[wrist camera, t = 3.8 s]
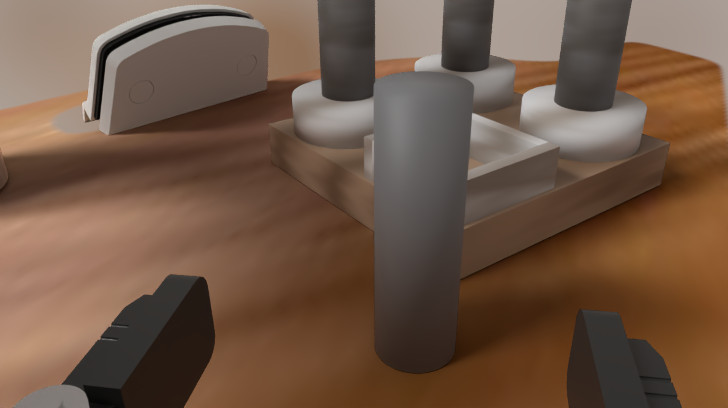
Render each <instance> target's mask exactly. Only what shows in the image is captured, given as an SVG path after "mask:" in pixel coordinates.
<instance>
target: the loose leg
mask: <svg viewBox="0 0 728 408" xmlns="http://www.w3.org/2000/svg"><path fill="white" fill-rule="evenodd" d="M473 97H474V85H473V83H472V82H470V81H469V80H467V79H465V78H463V77H460V76H457V75H453V74H448V73H441V72H429V71H414V72H402V73H396V74H391V75H388V76H385V77H382V78H380V79H378V80H377V81H376V82H375V83H374V314H375V350H376V353H377V355H378V356H379V358H380V359H381V360H382V361H383V362H384V363H385V364H387V365H388V366H390V367H392V368H394V369H396V370H399V371H403V372H408V373H426V372H431V371H435V370H437V369H440V368H442V367H443V366H445V365H446V364H447V363H448V362H449V361H450V360H451V359H452V357H453V355H454V353H455V344H456V330H457V317H458V303H459V289H460V275H461V262H462V248H463V234H464V220H465V207H466V193H467V179H468V165H469V152H470V138H471V124H472V111H473Z"/></svg>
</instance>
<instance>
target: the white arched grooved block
mask: <svg viewBox="0 0 728 408" xmlns="http://www.w3.org/2000/svg"><path fill="white" fill-rule="evenodd" d="M268 45H269V34H268V32H267V30H266V29H265V27H264V26H263V25H262V23H260V22H259V21H257V20H254V18H253V17H252V15H250V14H248V13H246V12H244V11H242V10H239V9H235V8H231V7H225V6H218V5H189V6H180V7H175V8H169V9H165V10H160V11H156V12H153V13H150V14H147V15H144V16H141V17H138V18H135V19H133V20H131V21H128V22H126V23H124V24H122V25H119V26H117V27H115V28H113V29H111V30H109V31H108V32H106V33H104V34H102V35H100V36H99V37H97V38H96V40H95V41H94V43H93V45H92V56H91V67H90V79H89V89H88V99H87V101H84V102H83V104H82V108H83V120H84V122H85V123H87V122H91V121H95V120H99V119H100V125H99V130H100V131H101V132H103V133H104V134H106V135H112V134H115V133H119V132H122V131H125V130H129V129H132V128H136V127H139V126H143V125H146V124H150V123H153V122H156V121H160V120H163V119H167V118H170V117H174V116H177V115H181V114H184V113H187V112H191V111H194V110H198V109H201V108H205V107H208V106H212V105H215V104H218V103H222V102H225V101H229V100H232V99H236V98H239V97H242V96H246V95H249V94H253V93H256V92H260V91H263V90H267V76H268Z"/></svg>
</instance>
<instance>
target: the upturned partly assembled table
mask: <svg viewBox="0 0 728 408" xmlns="http://www.w3.org/2000/svg"><path fill="white" fill-rule="evenodd" d="M631 2H632V0H567V7H566V15H565V22H564V30H563V37H562V45H561V52H560V59H559V67H558V74H557V81H556V85H547V86H542V87H538V88H534V89H532V90H529V91H528V92H526V93H525V94H524V95H522V94H519V93H516V92H513V89H514V79H515V69H516V67H515V65H514V64H513V63H512V62H510V61H508V60H506V59H504V58H500V57H496V56H492V55H490V45H491V33H492V20H493V8H494V0H444V12H443V35H442V54H435V55H431V56H427V57H424V58H421V59H419V60H418V61H417V62H416V63H415V71H429V72H441V73H448V74H453V75H457V76H460V77H463V78H465V79H467V80H469V81H470V82H472V83H473V85H474V97H473V111H472V124H471V138H470V152H469V165H468V179H467V193H466V207H465V220H464V234H463V248H462V262H461V275H460V279H462V278H464V277H466V276H468V275H470V274H472V273H474V272H477V271H479V270H481V269H483V268H485V267H487V266H489V265H491V264H494V263H496V262H498V261H500V260H502V259H504V258H506V257H508V256H510V255H513V254H515V253H517V252H519V251H521V250H523V249H525V248H527V247H529V246H532V245H534V244H536V243H538V242H540V241H542V240H544V239H546V238H549V237H551V236H553V235H555V234H557V233H559V232H561V231H563V230H565V229H568V228H570V227H572V226H574V225H576V224H578V223H580V222H582V221H585V220H587V219H589V218H591V217H593V216H595V215H597V214H599V213H601V212H604V211H606V210H608V209H610V208H612V207H614V206H616V205H618V204H621V203H623V202H625V201H627V200H629V199H631V198H633V197H635V196H637V195H640V194H642V193H644V192H646V191H648V190H650V189H652V188H654V187H656V186H659V185H661V181H662V176H663V172H664V168H665V164H666V159H667V155H668V151H669V146H670V143H669V142H666V141H663V140H660V139H657V138H654V137H651V136H648V135H645V134H642V131H643V126H644V121H645V117H646V112H647V107H646V105H645V104H644V102H642V101H641V100H640V99H638V98H636V97H634V96H632V95H630V94H627V93H625V92H621V91H618V90H616V85H617V80H618V74H619V69H620V63H621V58H622V52H623V47H624V41H625V36H626V30H627V25H628V19H629V13H630V8H631ZM318 17H319V18H318V19H319V41H320V42H319V43H320V65H321V79H319V80H315V81H311V82H308V83H305V84H303V85H301V86H299V87H297V88H296V89H295V90H294V91H293V93H292V105H293V118H290V119H286V120H282V121H278V122H274V123H270V124H269V136H270V147H271V159H272V163H273V164H275V165H276V166H278V167H279V168H281V169H282V170H283V171H285V172H286V173H288V174H289V175H291V176H292V177H294V178H295V179H297V180H298V181H300V182H301V183H303V184H304V185H306V186H307V187H309V188H310V189H312V190H313V191H314V192H316V193H317V194H319V195H320V196H322V197H323V198H325V199H326V200H328V201H329V202H331V203H332V204H334V205H335V206H337V207H338V208H340V209H341V210H342V211H344V212H345V213H347V214H348V215H350V216H351V217H353V218H354V219H356V220H357V221H359V222H360V223H362V224H363V225H365V226H366V227H368V228H369V229H371V230H372V231H373V232H374V83H375V82H376V81H377V80H378V79H377V78H375V0H318Z"/></svg>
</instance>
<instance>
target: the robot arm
mask: <svg viewBox="0 0 728 408" xmlns="http://www.w3.org/2000/svg"><path fill="white" fill-rule="evenodd" d="M7 180H8V172H7V169H6V165H5V162H4V159H3V155H2V152H1V149H0V189H1V188H2V187H3V186H4V185H5V184H6V182H7ZM214 343H215V330H214V324H213V317H212V310H211V304H210V297H209V291H208V285H207V282H206V280H205V278H204V277H197V276H185V275H173V274H171V275H169V276H167V277H166V278H165V280H164V281H163V282H162V283H161V285H160V286H159V287H158V289H157V290H156V291H155V292H154V294H153V295H143V296H142V297H140V298H139V299H137V300H135V301H134V302H132V303H131V304H129V305H128V306H126V307H125V308H124V309H123V310H122V311H121V313H120V314H119V315H118V316H117V317H116V319H115V320H114V321H113V322H112V325H111V327H108V328H107V330H106V331H105V332H104V333H103V334H102V336H101V339H100V340H98V341H97V342H96V343H95V344H94V345H93V347H92V348H91V349H90V350H89V352H88V353H87V354H86V355H85V356H84V358H83V359H82V360H81V361H80V363H79V364H78V365H77V366H76V367H75V369H74V370H73V371H72V372H71V374H70V375H69V376H68V377H67V378H66V380H65V381H64V382H63V383H62V385H55V386H50V387H46V388H43V389H40V390H37V391H35V392H33V393H31V394H29V395H28V396H26V397H24V398H23V399H22V400H20V401H19V402H18V403H17V404H16V405H15V406H14V407H13V408H184V406H185V404H186V402H187V401H188V399H189V397H190V395H191V393H192V392H193V390H194V388H195V386H196V384H197V383H198V381H199V379H200V377H201V375H202V374H203V372H204V370H205V368H206V366H207V365H208V363H209V361H210V359H211V356H212V353H213V349H214ZM567 397H568V403H569V408H682V407H681V404H680V401H679V400H677V393H676V391H675V388H674V386H673V383H671V378H670V375H669V372H668V370H667V367H666V365H665V362H664V359H663V358H662V357H661V356H660V355H659V354H658V353H657V352H656V351H655V349H654V348H653V347H652V346H651V345H650V344H649V343H648V342H647V341H646V340H639V339H628V338H627V336H626V333H625V330H624V327H623V324H622V320H621V317H620V315H619V313H618V312H606V311H594V310H582V309H580V310H579V311H578V314H577V318H576V324H575V330H574V335H573V341H572V347H571V352H570V358H569V364H568V371H567Z"/></svg>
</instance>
